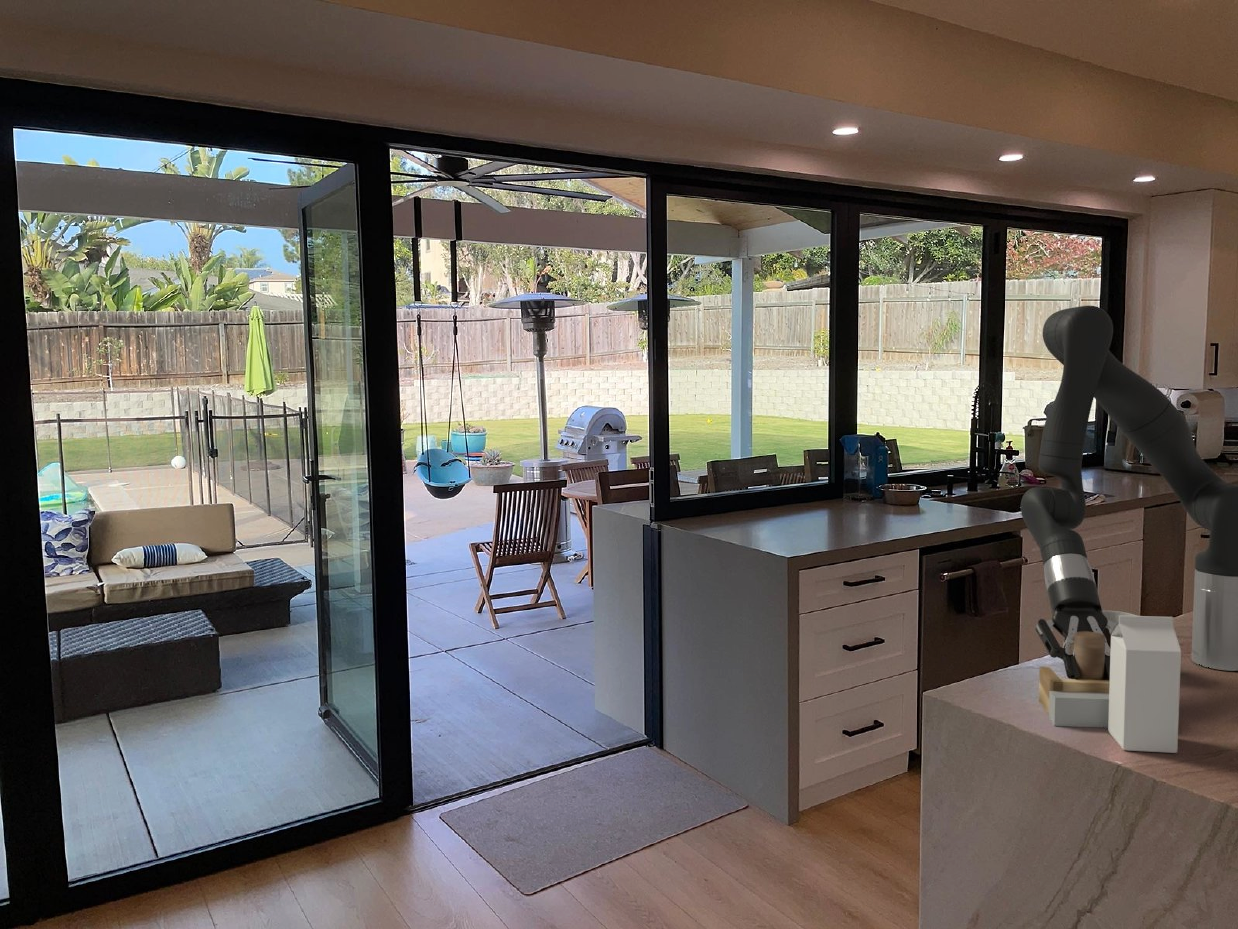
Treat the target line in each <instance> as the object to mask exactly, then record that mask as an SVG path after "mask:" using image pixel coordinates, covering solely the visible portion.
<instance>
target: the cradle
mask: <svg viewBox="0 0 1238 929" xmlns="http://www.w3.org/2000/svg"><path fill="white" fill-rule="evenodd" d="M1038 683H1039V684H1038V685H1039V686H1038V702H1039V704H1040V703H1041V704H1042V705H1043V706H1042V705H1041V704H1040V705H1041V706H1042V707H1044V708H1045V709H1046V710H1045V709H1044V708H1043V709H1044V710H1045V711H1046V712H1048V713H1049V691H1070V692H1104V693H1109V687H1110V680H1085V679H1069V678H1060V677H1059V676H1058V675H1057V673H1056V672H1055V671H1054V670H1053V669H1052V668H1051V667H1050V666H1039V680H1038ZM1048 713H1047V714H1048Z"/></svg>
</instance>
